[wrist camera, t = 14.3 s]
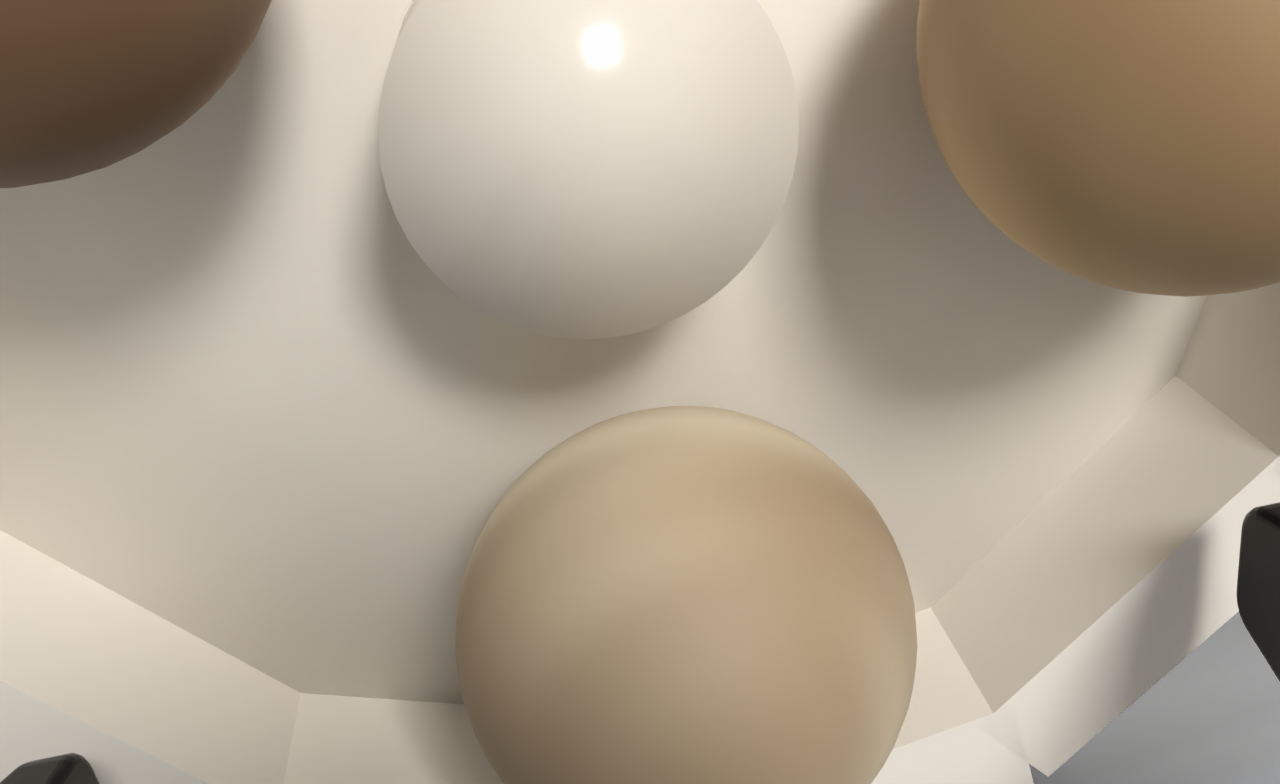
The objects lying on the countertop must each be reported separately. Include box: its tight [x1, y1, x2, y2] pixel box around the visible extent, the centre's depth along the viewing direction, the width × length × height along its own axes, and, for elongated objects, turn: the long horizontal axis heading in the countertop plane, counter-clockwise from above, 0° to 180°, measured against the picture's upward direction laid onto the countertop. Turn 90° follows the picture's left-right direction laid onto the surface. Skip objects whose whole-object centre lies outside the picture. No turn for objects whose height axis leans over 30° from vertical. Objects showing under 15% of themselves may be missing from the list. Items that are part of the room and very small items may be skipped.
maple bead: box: [455, 406, 918, 784], centre depth 10 cm, size 4×4×4 cm
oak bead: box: [916, 0, 1280, 297], centre depth 8 cm, size 4×4×4 cm
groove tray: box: [0, 0, 1280, 784], centre depth 9 cm, size 14×14×2 cm
